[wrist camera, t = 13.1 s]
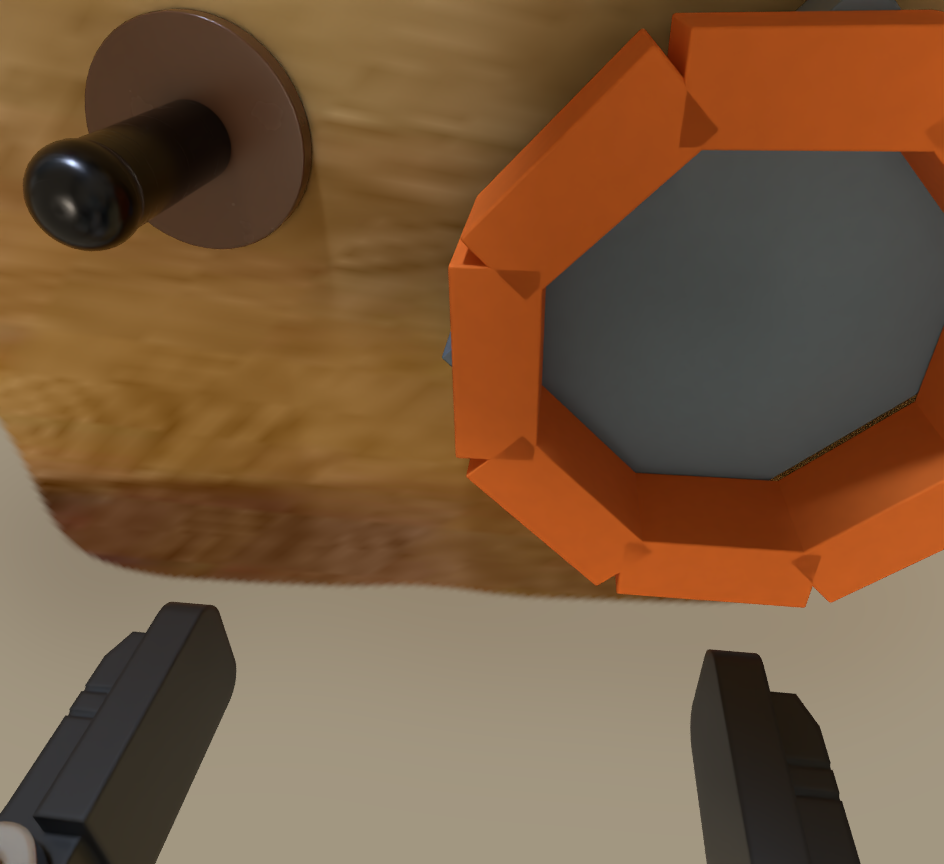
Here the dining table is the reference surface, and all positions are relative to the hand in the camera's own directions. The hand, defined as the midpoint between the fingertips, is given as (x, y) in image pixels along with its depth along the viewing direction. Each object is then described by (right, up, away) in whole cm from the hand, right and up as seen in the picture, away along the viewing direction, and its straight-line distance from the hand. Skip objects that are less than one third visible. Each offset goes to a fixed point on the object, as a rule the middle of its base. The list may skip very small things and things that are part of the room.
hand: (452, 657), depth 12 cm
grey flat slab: (+9, +8, +12) cm, 17 cm away
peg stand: (-8, +13, +11) cm, 19 cm away
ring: (+8, +7, +10) cm, 15 cm away
